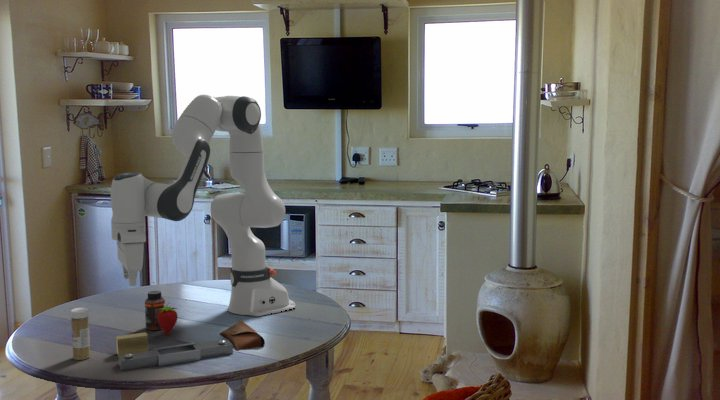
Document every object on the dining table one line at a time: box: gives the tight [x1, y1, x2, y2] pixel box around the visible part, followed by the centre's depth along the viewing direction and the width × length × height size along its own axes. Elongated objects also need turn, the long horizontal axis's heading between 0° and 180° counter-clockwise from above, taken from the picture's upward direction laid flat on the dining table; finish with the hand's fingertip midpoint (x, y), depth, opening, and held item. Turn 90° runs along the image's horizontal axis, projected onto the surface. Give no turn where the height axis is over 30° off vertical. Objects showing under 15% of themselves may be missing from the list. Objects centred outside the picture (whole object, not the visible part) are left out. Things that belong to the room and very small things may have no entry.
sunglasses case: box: [219, 319, 266, 351], centre depth 210 cm, size 18×7×7 cm
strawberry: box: [157, 302, 178, 335], centre depth 214 cm, size 6×8×10 cm
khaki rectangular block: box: [115, 332, 150, 356], centre depth 198 cm, size 8×3×5 cm, turn 116°
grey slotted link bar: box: [117, 339, 234, 371], centre depth 194 cm, size 30×7×3 cm, turn 116°
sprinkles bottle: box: [69, 307, 91, 361], centre depth 194 cm, size 5×5×13 cm
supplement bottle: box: [144, 290, 166, 331], centre depth 220 cm, size 6×6×11 cm
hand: (129, 281), depth 197 cm, fingers open, 8 cm apart
